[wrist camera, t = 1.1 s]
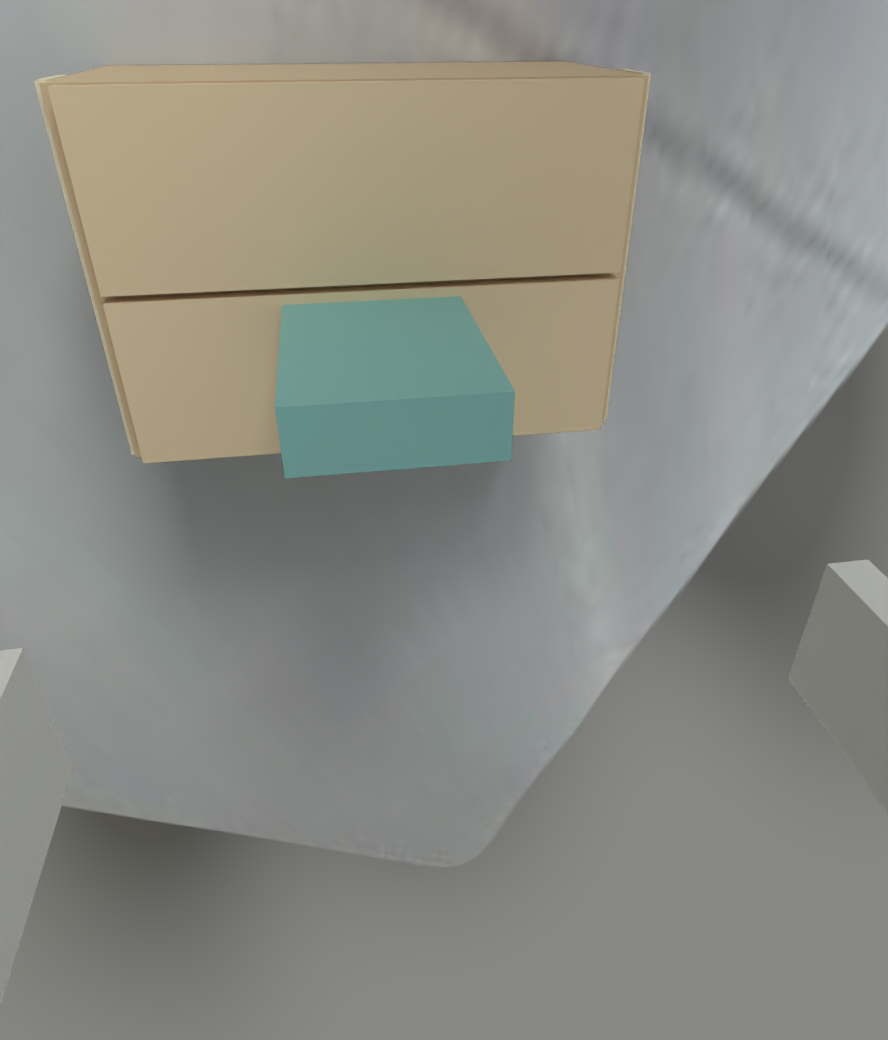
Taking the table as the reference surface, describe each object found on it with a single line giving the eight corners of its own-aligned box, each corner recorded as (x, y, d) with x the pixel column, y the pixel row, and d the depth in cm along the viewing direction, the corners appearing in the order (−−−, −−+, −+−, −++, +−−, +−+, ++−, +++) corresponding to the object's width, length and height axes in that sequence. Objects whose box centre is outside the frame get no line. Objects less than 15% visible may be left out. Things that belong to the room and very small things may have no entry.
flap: (106, 298, 25) (27, 412, 18) (613, 274, 27) (725, 367, 20) (146, 455, 28) (92, 604, 21) (595, 422, 30) (686, 547, 23)
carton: (100, 64, 29) (23, 82, 21) (570, 59, 31) (664, 75, 23) (166, 366, 35) (126, 468, 27) (548, 343, 38) (614, 431, 30)
